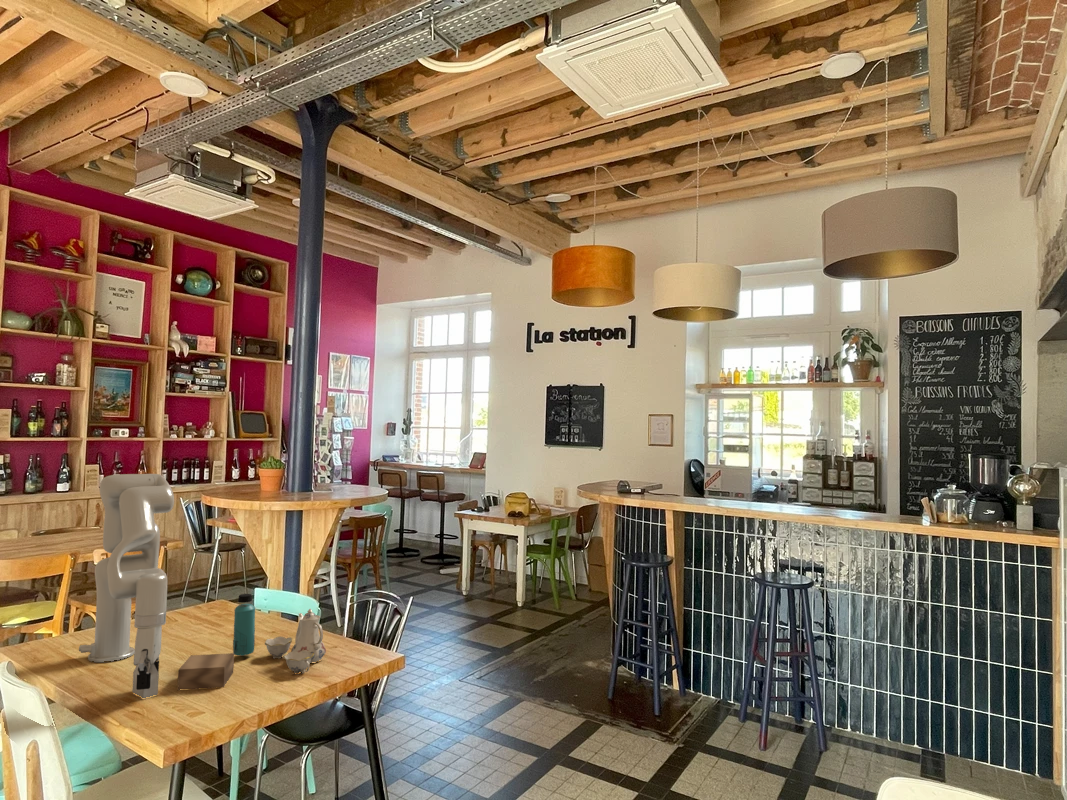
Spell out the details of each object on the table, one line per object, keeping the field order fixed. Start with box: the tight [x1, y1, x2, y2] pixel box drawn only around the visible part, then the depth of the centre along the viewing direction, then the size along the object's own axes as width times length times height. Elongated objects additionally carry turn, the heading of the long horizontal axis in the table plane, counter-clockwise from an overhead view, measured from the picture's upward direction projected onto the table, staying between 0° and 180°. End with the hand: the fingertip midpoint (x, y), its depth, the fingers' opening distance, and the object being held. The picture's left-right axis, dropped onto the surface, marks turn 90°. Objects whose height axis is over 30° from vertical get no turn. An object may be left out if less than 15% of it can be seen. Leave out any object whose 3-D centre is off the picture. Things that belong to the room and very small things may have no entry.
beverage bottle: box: [232, 593, 256, 657], centre depth 213 cm, size 6×7×20 cm
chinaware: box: [264, 608, 327, 674], centre depth 209 cm, size 28×17×17 cm, turn 46°
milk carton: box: [132, 661, 160, 698], centre depth 182 cm, size 4×7×10 cm, turn 54°
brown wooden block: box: [177, 652, 235, 691], centre depth 192 cm, size 12×12×6 cm
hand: (147, 682), depth 182 cm, fingers open, 9 cm apart
